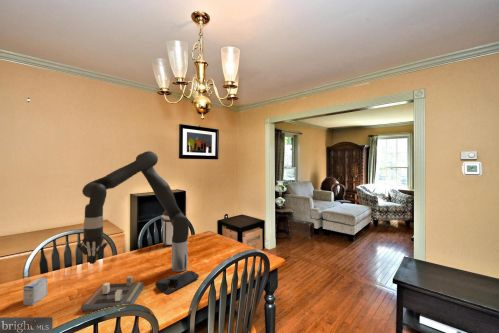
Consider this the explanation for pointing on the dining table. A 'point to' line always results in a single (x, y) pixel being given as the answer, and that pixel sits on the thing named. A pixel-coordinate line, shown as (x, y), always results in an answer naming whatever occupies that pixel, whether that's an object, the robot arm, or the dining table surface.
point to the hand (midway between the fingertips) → (92, 263)
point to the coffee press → (167, 230)
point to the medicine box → (34, 291)
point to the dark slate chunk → (176, 281)
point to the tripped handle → (106, 288)
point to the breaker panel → (114, 295)
